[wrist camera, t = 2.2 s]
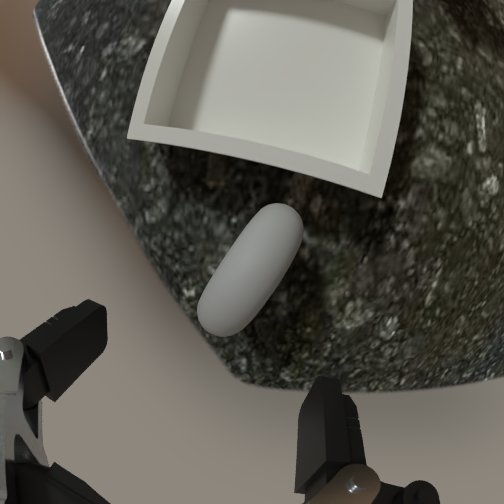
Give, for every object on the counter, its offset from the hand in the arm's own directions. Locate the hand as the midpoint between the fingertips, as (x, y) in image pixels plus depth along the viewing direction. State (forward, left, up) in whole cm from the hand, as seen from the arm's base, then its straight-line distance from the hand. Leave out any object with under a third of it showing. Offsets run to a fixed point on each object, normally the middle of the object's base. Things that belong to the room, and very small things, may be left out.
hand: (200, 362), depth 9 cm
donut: (0, 0, -16) cm, 16 cm away
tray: (+2, -16, -15) cm, 22 cm away
